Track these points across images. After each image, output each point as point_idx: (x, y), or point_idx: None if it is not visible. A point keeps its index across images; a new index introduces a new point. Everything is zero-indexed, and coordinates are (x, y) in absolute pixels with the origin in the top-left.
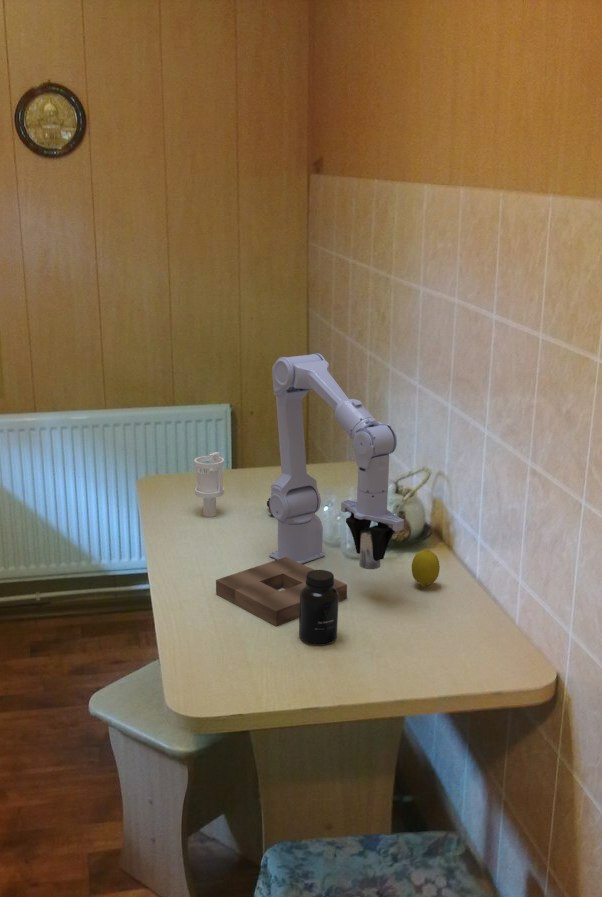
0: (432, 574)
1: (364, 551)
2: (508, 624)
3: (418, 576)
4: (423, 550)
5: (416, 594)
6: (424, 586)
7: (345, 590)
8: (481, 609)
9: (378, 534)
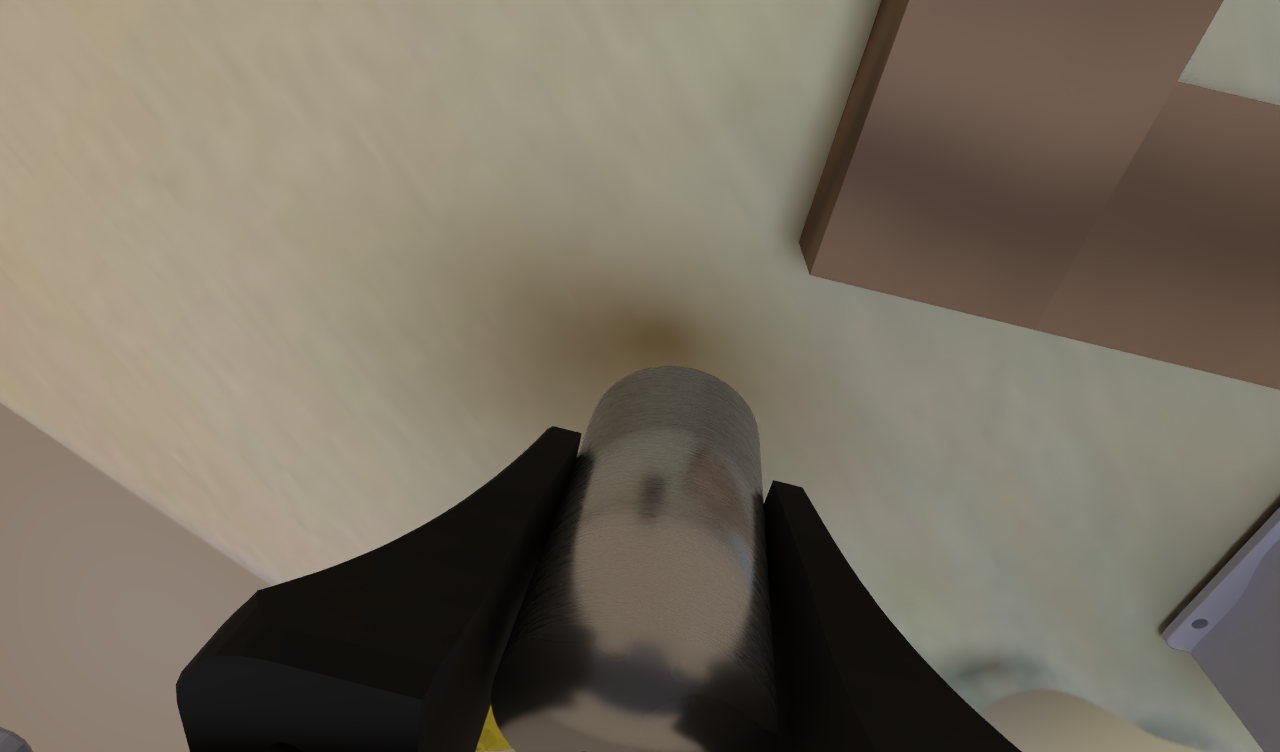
0: None
1: (664, 458)
2: (65, 427)
3: None
4: (497, 737)
5: None
6: None
7: (809, 247)
8: (229, 490)
9: (257, 592)
